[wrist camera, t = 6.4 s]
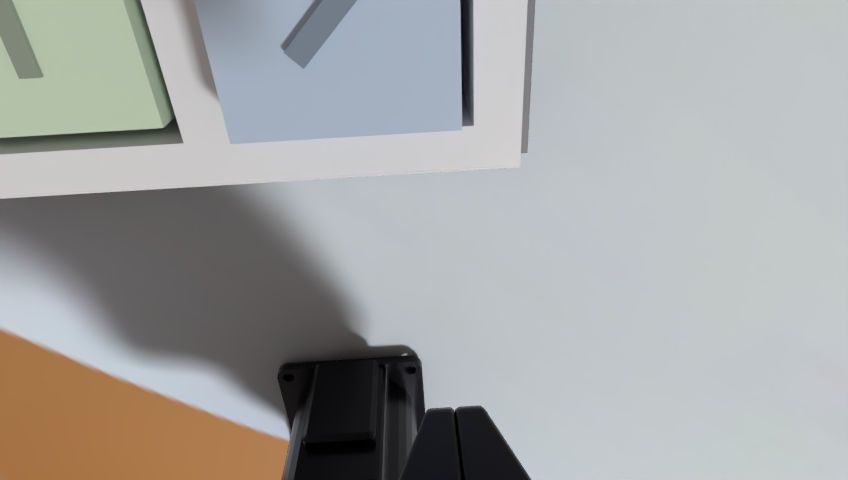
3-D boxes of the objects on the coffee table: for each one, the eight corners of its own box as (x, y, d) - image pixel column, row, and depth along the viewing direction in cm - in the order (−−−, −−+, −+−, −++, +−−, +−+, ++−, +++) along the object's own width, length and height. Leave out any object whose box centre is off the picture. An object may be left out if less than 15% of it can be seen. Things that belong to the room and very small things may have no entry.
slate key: (455, 102, 14) (462, 131, 12) (251, 114, 14) (228, 146, 12) (449, -148, 11) (458, -156, 9) (196, -132, 11) (156, -138, 9)
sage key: (189, 102, 15) (161, 129, 13) (1, 113, 15) (-53, 142, 13) (127, -124, 12) (79, -128, 11) (-104, -110, 12) (-190, -112, 11)
